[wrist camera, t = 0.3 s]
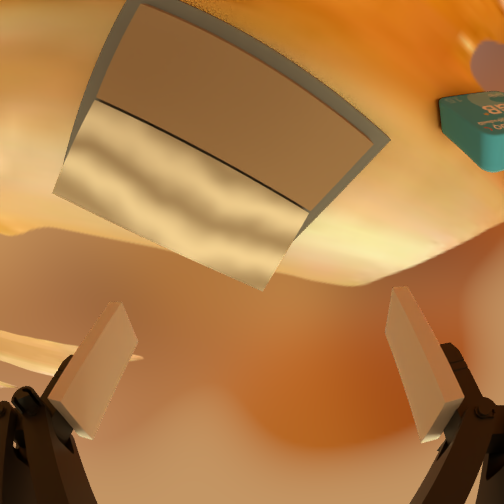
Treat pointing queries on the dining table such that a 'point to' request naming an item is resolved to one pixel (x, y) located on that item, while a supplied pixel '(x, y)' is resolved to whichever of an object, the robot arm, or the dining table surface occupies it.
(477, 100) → the data package
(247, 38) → the floor frame
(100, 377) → the robot arm
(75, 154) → the plank
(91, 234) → the dining table surface
